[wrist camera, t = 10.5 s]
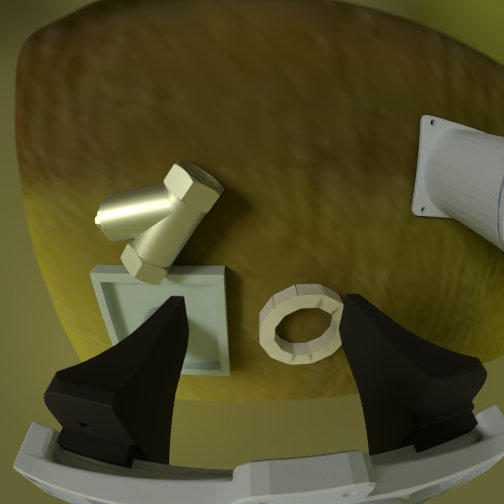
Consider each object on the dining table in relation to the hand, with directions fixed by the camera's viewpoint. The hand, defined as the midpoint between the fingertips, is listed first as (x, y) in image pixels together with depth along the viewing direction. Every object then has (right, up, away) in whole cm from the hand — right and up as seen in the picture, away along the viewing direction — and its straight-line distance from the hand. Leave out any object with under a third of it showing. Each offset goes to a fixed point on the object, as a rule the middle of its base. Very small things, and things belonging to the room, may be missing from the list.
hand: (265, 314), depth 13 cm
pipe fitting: (-7, +6, +8) cm, 13 cm away
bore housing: (+4, -3, +12) cm, 13 cm away
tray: (-8, -3, +12) cm, 15 cm away
